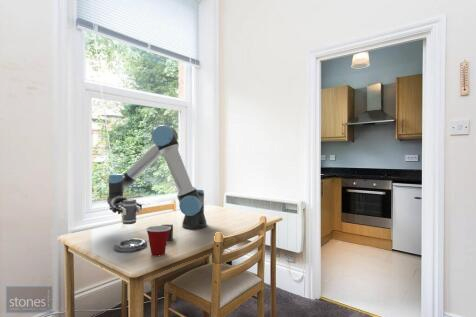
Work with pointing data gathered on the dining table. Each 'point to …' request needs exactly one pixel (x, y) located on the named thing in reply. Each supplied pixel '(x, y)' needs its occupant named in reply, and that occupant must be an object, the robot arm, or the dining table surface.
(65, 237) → the dining table surface
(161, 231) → the plastic cup
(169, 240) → the box
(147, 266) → the dining table surface
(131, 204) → the lens
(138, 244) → the mount plate
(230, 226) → the dining table surface
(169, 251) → the dining table surface
